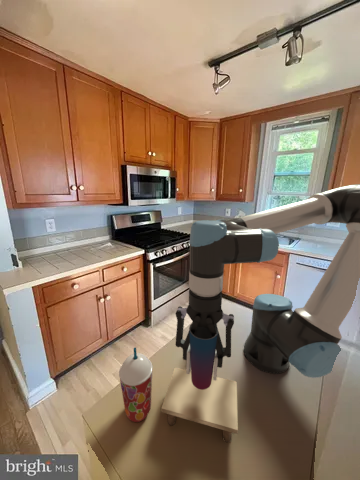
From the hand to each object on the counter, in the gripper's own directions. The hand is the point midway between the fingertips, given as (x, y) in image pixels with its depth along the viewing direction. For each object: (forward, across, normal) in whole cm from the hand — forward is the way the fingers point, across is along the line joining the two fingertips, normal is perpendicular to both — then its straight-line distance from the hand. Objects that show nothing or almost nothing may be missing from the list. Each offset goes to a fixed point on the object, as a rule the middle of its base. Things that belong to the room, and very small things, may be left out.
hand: (201, 372), depth 50 cm
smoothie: (+13, +16, +4) cm, 21 cm away
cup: (+2, 0, 0) cm, 2 cm away
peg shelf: (+13, 0, 0) cm, 13 cm away
